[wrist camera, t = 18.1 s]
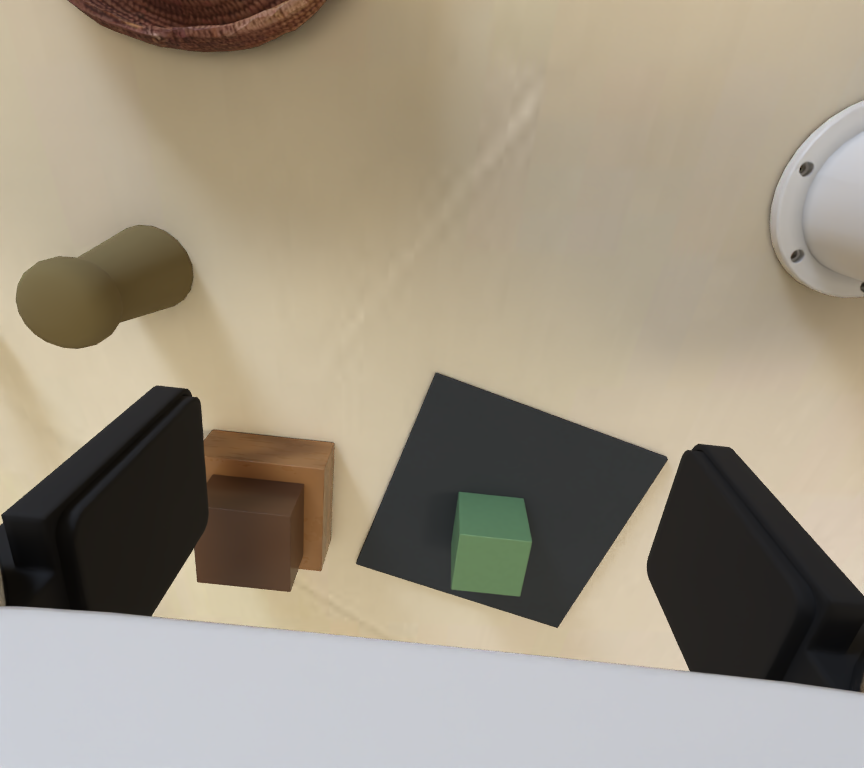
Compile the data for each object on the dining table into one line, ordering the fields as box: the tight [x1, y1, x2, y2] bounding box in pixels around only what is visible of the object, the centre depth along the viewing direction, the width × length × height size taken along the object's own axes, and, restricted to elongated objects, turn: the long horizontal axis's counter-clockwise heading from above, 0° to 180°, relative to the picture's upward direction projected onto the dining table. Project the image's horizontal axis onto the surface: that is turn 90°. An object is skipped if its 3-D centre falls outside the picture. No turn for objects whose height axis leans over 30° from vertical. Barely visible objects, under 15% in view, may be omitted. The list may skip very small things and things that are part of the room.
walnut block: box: [194, 474, 304, 592], centre depth 42 cm, size 7×7×4 cm
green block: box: [451, 492, 532, 596], centre depth 45 cm, size 6×6×6 cm
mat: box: [356, 373, 668, 628], centre depth 48 cm, size 20×20×1 cm
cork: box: [16, 225, 193, 349], centre depth 35 cm, size 6×6×11 cm
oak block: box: [204, 430, 334, 571], centre depth 46 cm, size 10×10×4 cm
